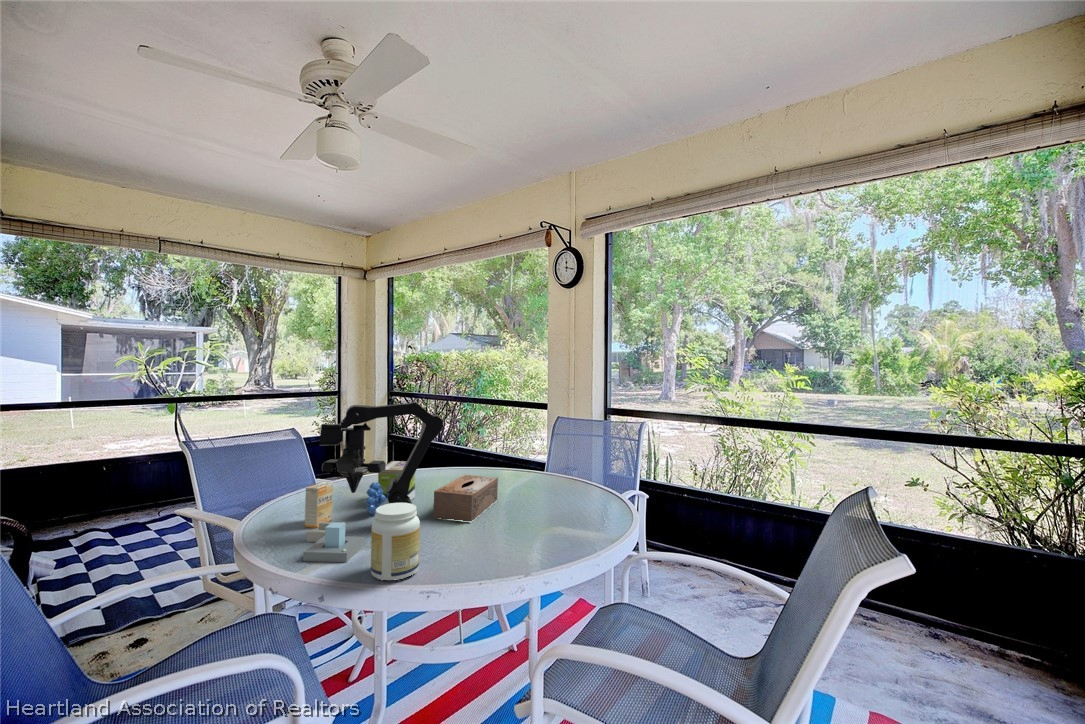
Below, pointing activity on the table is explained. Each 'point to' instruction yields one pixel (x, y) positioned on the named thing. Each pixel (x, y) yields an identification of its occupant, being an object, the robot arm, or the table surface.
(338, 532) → the plug
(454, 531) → the table surface
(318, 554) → the socket
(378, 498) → the grapes
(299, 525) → the table surface
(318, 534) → the grey square frame
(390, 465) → the tea box
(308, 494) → the supplement box
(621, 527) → the table surface
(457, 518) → the tissue box cover
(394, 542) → the supplement tub
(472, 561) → the table surface
